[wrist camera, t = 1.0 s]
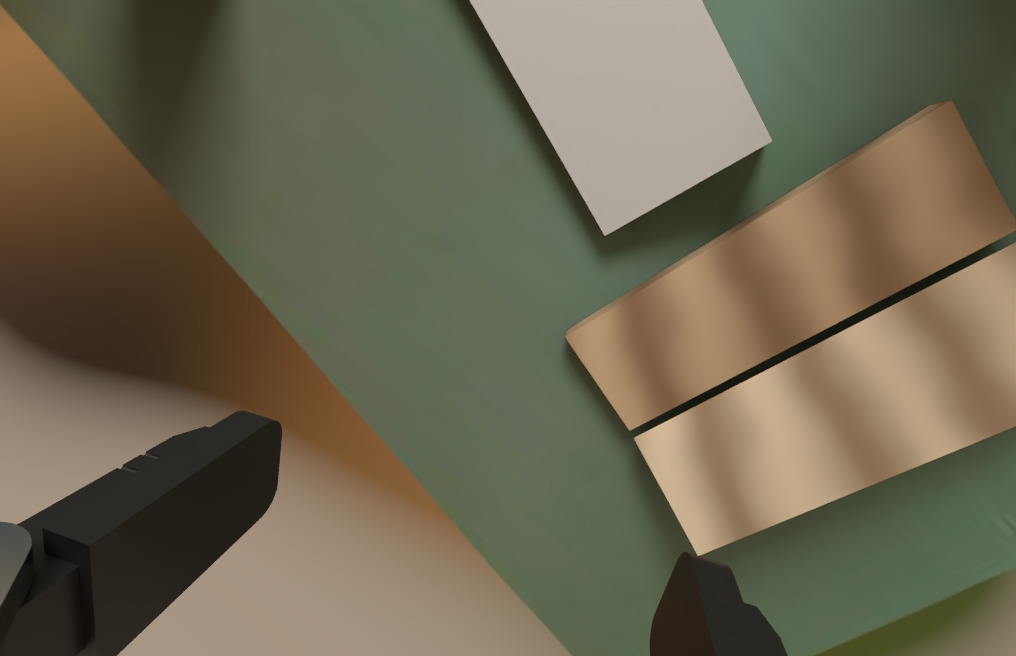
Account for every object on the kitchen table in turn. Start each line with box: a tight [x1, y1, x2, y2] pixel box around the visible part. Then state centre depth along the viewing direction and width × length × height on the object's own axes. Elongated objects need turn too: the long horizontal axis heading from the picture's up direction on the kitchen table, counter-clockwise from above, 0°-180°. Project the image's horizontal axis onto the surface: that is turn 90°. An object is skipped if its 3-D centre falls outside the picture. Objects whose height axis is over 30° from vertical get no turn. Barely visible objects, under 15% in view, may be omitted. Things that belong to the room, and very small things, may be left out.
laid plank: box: [565, 100, 1016, 431], centre depth 29 cm, size 24×8×2 cm, turn 125°
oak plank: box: [634, 242, 1016, 556], centre depth 28 cm, size 24×8×2 cm, turn 125°
